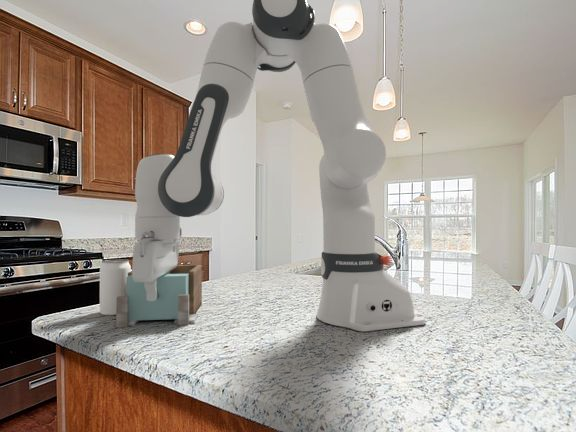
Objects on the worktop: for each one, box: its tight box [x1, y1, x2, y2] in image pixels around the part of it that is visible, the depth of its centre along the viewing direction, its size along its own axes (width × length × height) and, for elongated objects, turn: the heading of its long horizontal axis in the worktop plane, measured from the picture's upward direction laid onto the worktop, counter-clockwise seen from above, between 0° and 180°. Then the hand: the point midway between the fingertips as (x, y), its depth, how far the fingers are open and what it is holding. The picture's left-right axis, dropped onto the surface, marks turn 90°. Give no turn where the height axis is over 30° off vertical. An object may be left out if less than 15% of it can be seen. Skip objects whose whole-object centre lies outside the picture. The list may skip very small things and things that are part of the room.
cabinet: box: [112, 264, 203, 328], centre depth 74 cm, size 16×17×10 cm
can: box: [99, 258, 132, 317], centre depth 76 cm, size 6×6×12 cm
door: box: [127, 274, 189, 321], centre depth 69 cm, size 12×4×9 cm, turn 96°
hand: (157, 296), depth 69 cm, fingers open, 6 cm apart
